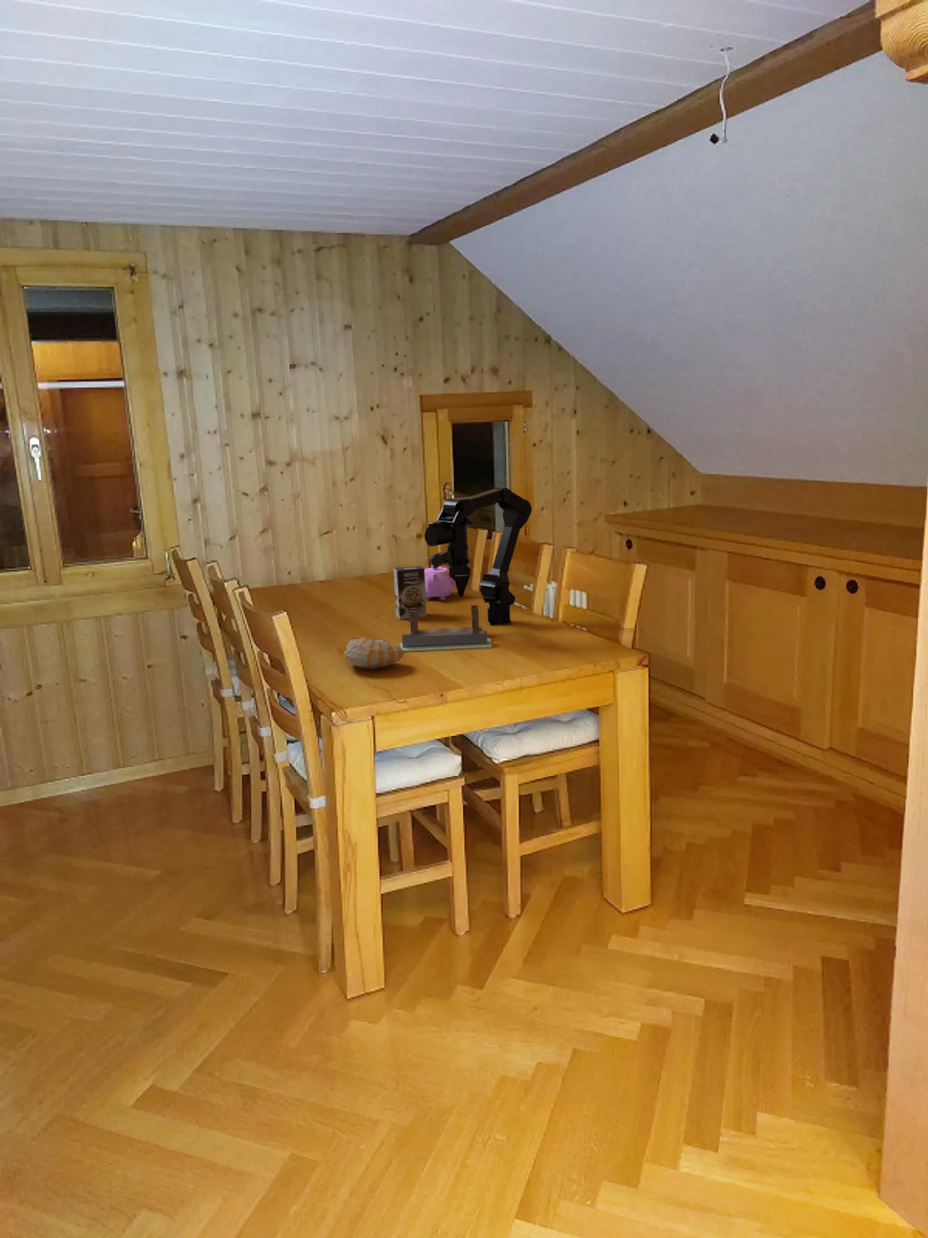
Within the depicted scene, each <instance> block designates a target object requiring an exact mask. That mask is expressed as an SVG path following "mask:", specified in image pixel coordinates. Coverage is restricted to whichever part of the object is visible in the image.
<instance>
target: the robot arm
mask: <svg viewBox="0 0 928 1238" xmlns="http://www.w3.org/2000/svg"><path fill="white" fill-rule="evenodd" d="M495 504H497V505H498V507H499V508H500V509H501V510H502V512H503V513H502V519H503V525H504V526H503V530H502V533H501V537H500V540H499V544H498V546H497V547H498V548H497V550H496V554H495V558H494V562H493V563H492V564H493V565H492V567H491V570H490V571H489V572H488V573H486V572H484V573H483V575H482V578H481V582H480V583H479V587H480V588H479V589H480V593H481V596H482V598H483V601H484V603H485V604H486V603H487V604H488V606H487V608H486V609H487V612H486V613H487V622H488V623H489V625H490V626H497V624H503V625H511V624H512V622H511V605H514V604H515V601H516V596H515V595H514V594H513V593H512V591H510V580H509V574H508V573H509V571H510V570H509V569H510V565H511V563H512V559H513V555H514V552H515V549H516V545H517V541H518V539H519V534H520V531H521V529H522V528H523V527H524V526H525V525H526V524H527V523H528V521H529V519H530V516H531V514H532V509H533V507H532V505H531V503H530V501H529V500H528V499H525V498H524V497H522V496H520V495H518V494H516V493H514V492H513V491H512V490H511V489H509V487H504V486H503V487H502V486H496V487H495V488H493V489H492V488H491V489H489V490H487V491H483V492H480V493H477V494H474V495H471V496H468V497H451V498H447V499H446V500H444V503H443V506H442V508H441V509H440V512H439V514H438V516H437V519H436V520H435V522H433V521H432V522H428V526H427V527H426V529H425V532H424V534H423V535H424V540H425V541H424V542H425V544H427V545H428V546H429V547H431V548H433V547H436V546H441V545H443V546H444V545H447V546H446V548H447V549H445V550H443V551H440V552H437V553H435V554H433V555H431V556H430V557H429V562H430V564H431V565H432V566H433V568H434V569H435V568H438V567H442V565H445V564H448V565H447V566H448V571H449V576H450V577H451V579H452V581H455V583H456V586H455V587H456V591H457V595H458V597H459V598H463V597H464V594H465V591H466V589H467V586H468V583H469V580H470V577H471V574H472V573H471V571H472V570H471V569H472V568H471V566H470V560H469V544H468V540H469V539H468V526H471V525H473V521H471V520H470V519H469V517H470V516H472V515H473V513H475V512H476V511H478V510H481V509H483V508H486V507H489V506H490V507H491V506H492V505H495ZM508 623H509V624H508ZM510 623H511V624H510Z"/></svg>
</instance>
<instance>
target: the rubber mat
mask: <svg viewBox="0 0 928 1238" xmlns="http://www.w3.org/2000/svg"><path fill="white" fill-rule="evenodd" d="M487 641H488V644H471V645H449V646H427V647H405V648H403V643H402V642H400V643H399V646H400V647H401V648H402V650H403V651H404V653H414V652H415V653H417V652H435V651H437V652H439V651H454V650H455V651H458V650H459V651H460V649H461V650H479V649H480V648H483V649H492V648H493V646H492V640H491V638H488V637H487Z"/></svg>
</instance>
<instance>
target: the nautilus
mask: <svg viewBox="0 0 928 1238" xmlns="http://www.w3.org/2000/svg"><path fill="white" fill-rule="evenodd" d="M350 637H351V638H352V639H351V640H349V641H348V643H347V645H346V649H345V651H344V652H343V653H344V655H345V658H346V660H348V661H349V663H350V664H351V665H352V666H355V667H360V668H364V669H378V668H383V667H386V666H389V665H393V664H395V663H398V662H400V660H402V658H403V656H404V654H405V652H404V651H403V650H402V648H401V647H400V645H398V644H395V643H392V642H389V641H387V640H386V639H375V640H372V639H369V638H367V637H357V638H356V637H353V636H350Z"/></svg>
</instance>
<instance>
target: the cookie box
mask: <svg viewBox="0 0 928 1238" xmlns="http://www.w3.org/2000/svg"><path fill="white" fill-rule="evenodd" d="M424 569H425V568H424V567H423V566H421V565H416V566H415V565H414V566H403V567H402V566H401V567H393V578H394V579H393V580H394V581H393V582H394V599H395V600H394V602H395V607H394V608H395V617H396V618H397V619H398V620H399V619H401V620H408V619H409V620H410V608H417V616H418V619H421V618H427V604H426V603H427V600H426V595H425V571H424Z"/></svg>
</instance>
